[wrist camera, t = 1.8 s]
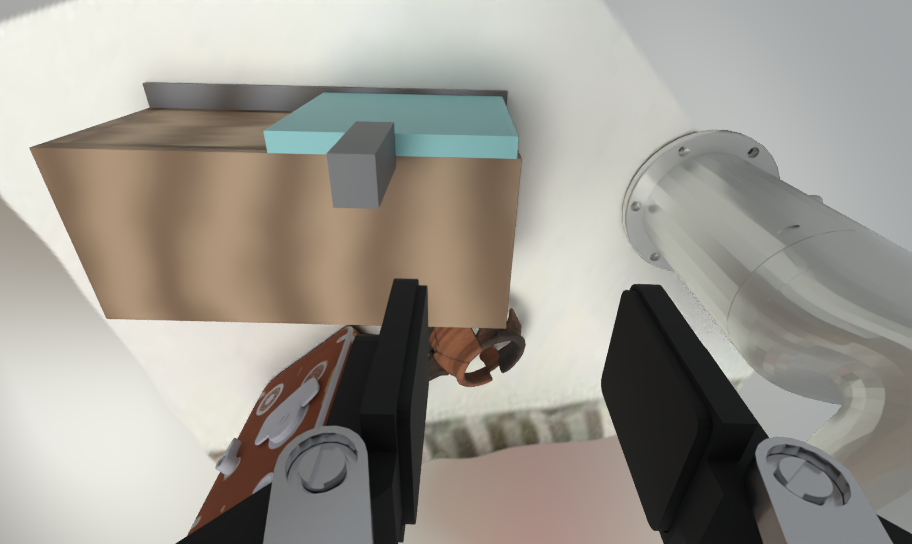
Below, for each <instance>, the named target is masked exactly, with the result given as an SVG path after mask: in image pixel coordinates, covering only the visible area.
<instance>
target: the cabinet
mask: <svg viewBox="0 0 912 544" xmlns="http://www.w3.org/2000/svg"><path fill="white" fill-rule="evenodd" d="M143 87H144V90H145V93H146V96H147V100H148V103H149V106H150V108H148V109H145V110H142V111H139V112H136V113H133V114H130V115H127V116H124V117H121V118H118V119H115V120H112V121H108V122H105V123H102V124H99V125H96V126H93V127H90V128H87V129H84V130H81V131H78V132H75V133H72V134H69V135H66V136H63V137H60V138H57V139H54V140H51V141H48V142H45V143H42V144H39V145H36V146H33V147H30V150H31V153H32V155H33V157H34V159H35V161H36V164H37V166H38V168H39V170H40V173H41V175H42V177H43V179H44V181H45V184H46V186H47V188H48V190H49V192H50V195H51V197H52V199H53V201H54V203H55V206H56V208H57V210H58V212H59V215H60V217H61V219H62V221H63V223H64V226H65V228H66V230H67V232H68V234H69V237H70V239H71V241H72V243H73V246H74V248H75V250H76V252H77V254H78V257H79V259H80V261H81V263H82V265H83V268H84V270H85V272H86V274H87V276H88V279H89V281H90V283H91V285H92V288H93V290H94V292H95V294H96V296H97V299H98V301H99V303H100V305H101V307H102V310H103V312H104V314H105V316H106V318H107V319H135V320H175V321H216V322H257V323H298V324H339V325H380V326H382V323H383V319H384V315H385V311H386V307H387V303H388V299H389V295H390V291H391V288H392V284H393V280H394V278H403V279H418V280H419V285H427V287H428V327H462V328H503V329H506V323H507V312H508V302H509V291H510V280H511V269H512V259H513V248H514V237H515V226H516V215H517V205H518V194H519V183H520V172H521V161H522V159H521V156H520V153H519V150H518V152H517V159H501V158H458V157H414V156H396V169H395V171H394V173H393V176H392V178H391V181H390V183H389V185H388V188H387V190H386V193H385V195H384V198H383V200H382V202H381V205H380V207H379V209H363V208H333V202H332V194H331V186H330V178H329V170H328V162H327V154H285V153H267V148H266V143H265V137H264V132H263V131H264V130H265V129H267V128H268V127H270V126H271V125H273V124H275V123H276V122H278V121H279V120H281V119H283V118H284V117H286V116H287V115H289V114H290V113H292V112H294V111H295V110H297V109H298V108H300V107H302V106H303V105H305V104H306V103H308V102H309V101H311V100H313V99H314V98H316V97H317V96H319V95H321V94H322V93H324V92H327V93H371V94H415V95H459V96H502V97H503V99H504V102H505V104H507V91H499V90H454V89H410V88H366V87H322V86H278V85H234V84H189V83H143Z"/></svg>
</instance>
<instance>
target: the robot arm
mask: <svg viewBox="0 0 912 544" xmlns="http://www.w3.org/2000/svg"><path fill="white" fill-rule="evenodd" d="M681 147H682V149H681V150H680V151H679V149H680V148H681ZM748 151H749V152H748ZM634 202H635V204H634V205H632V204H633V203H634ZM622 221H623V227H624V232H625V234H626V236H627V239H628V241H629V243H630V244H631V246H632V247H633V249H634V250H635V251H636V252H637V253H638V254H639V255H640V257H641V258H643V259H644V260H645V261H647V262H648V263H650V264H652V265H654V266H656V267H659V268H661V269H665V270H670V271H675V272H676V273H677V274H678V276H679V277H680V278H681V280H682V281H683V282H684V283H685V285H686V286H687V287H688V288H689V290H690V291H691V292H692V293H693V295H694V296H695V297H696V299H697V300H698V301H699V302H700V304H701V305H702V306H703V307H704V309H705V310H706V311H707V313H708V314H709V315H710V316H711V318H712V319H713V320H714V321H715V323H716V324H717V325H718V326H719V328H720V329H721V330H722V332H723V333H724V334H725V335H726V337H727V338H728V339H729V340H730V342H731V343H732V344H733V345H734V347H735V348H736V349H737V351H738V352H739V353H740V354H741V356H742V357H743V358H744V359H745V361H746V362H747V363H748V364H749V365H750V366H751V367H752V368H753V369H754V370H755V371H756V372H757V373H758V374H760V375H761V376H762V377H763V378H765V379H766V380H768V381H769V382H771V383H773V384H775V385H776V386H778V387H780V388H782V389H784V390H786V391H789V392H791V393H794V394H797V395H800V396H803V397H806V398H811V399H814V400H819V401H823V402H828V403H832V404H839V405H842V406H841V408H840V409H839V410H838V412H837V413H836V414H835V415H833V416H832V417H831V418H830V419H829V420H828V421H827V422H826V423H825V424H823V425H822V426H821V427H820V428H819V429H818V430H816V432H815V434H814V435H813V436H812V437H811V438H810V439H808V440H807V441H806V442H803V441H799V440H796V439H792V438H785V437H773V438H769V437H768V436H767V434H766V433H765V431H764V430H763V429H762V427H761V426H760V424H759V423H758V421H757V420H756V419H755V417H754V416H753V414H752V413H751V411H750V410H749V409H748V407H747V406H746V404H745V403H744V401H743V400H742V399H741V398H740V396H739V394H738V393H737V391H736V390H735V389H734V387H733V386H732V384H731V383H730V381H729V380H728V379H727V377H726V376H725V374H724V373H723V372H722V370H721V369H720V367H719V366H718V364H717V363H716V362H715V360H714V359H713V357H712V356H711V354H710V353H709V352H708V350H707V349H706V348H705V347H704V346H703V344H702V343H701V341H700V340H699V339H698V337H697V336H696V334H695V333H694V331H693V330H692V329H691V327H690V326H689V324H688V323H687V321H686V320H685V319H684V317H683V316H682V314H681V313H680V311H679V310H678V309H677V307H676V306H675V304H674V303H673V301H672V300H671V299H670V297H669V296H668V294H667V293H666V291H665V290H664V289H663V287H662V286H661V285H652V284H634V285H632V286H631V288H630V290H625V291H623V293H622V295H621V299H620V303H619V308H618V312H617V316H616V320H615V324H614V328H613V332H612V337H611V341H610V345H609V349H608V353H607V357H606V362H605V366H604V370H603V374H602V379H601V388H602V393H603V397H604V399H605V402H606V405H607V408H608V411H609V413H610V416H611V419H612V422H613V425H614V428H615V430H616V433H617V436H618V439H619V442H620V444H621V447H622V450H623V453H624V455H625V458H626V461H627V464H628V467H629V470H630V473H631V475H632V478H633V481H634V484H635V487H636V489H637V492H638V495H639V498H640V501H641V504H642V506H643V509H644V512H645V515H646V518H647V521H648V523H649V525H650V527H651V528H652V529H653V530H654V531H659V532H660V534H661V538H662V540H663V543H664V544H912V253H911V252H910V251H908V250H906V249H904V248H902V247H901V246H899V245H897V244H895V243H893V242H892V241H890V240H888V239H886V238H884V237H883V236H881V235H879V234H877V233H875V232H874V231H872V230H870V229H868V228H866V227H865V226H863V225H861V224H859V223H857V222H856V221H854V220H852V219H850V218H848V217H847V216H845V215H843V214H841V213H839V212H837V211H836V210H834V209H832V208H830V207H829V206H826V205H825V204H823V201H822V198H821V197H820V196H816V195H807V194H805V193H803V192H802V191H800V190H798V189H796V188H794V187H793V186H791V185H789V184H787V183H785V182H783V181H782V180H780V177H779V172H778V167H777V165H776V163H775V161H774V159H773V157H772V155H771V154H770V153H769V152H768V151H767V149H766V148H765V147H764V146H763V145H761V144H760V143H758V142H757V141H755V140H753V139H752V138H750V137H747V136H745V135H743V134H741V133H737V132H732V131H728V130H708V131H701V132H696V133H693V134H690V135H687V136H684V137H681V138H679V139H677V140H675V141H673V142H671V143H670V144H668V145H666V146H664V147H663V148H662V149H661V150H659V151H658V152H657V153H655V154H654V155H653V156H652V157H651V158H650V159H649V160H648V161H647V162H646V163H645V164H644V165H643V166H642V167H641V168H640V170H639V171H638V173H637V174H636V175H635V177H634V178H633V180H632V182H631V184H630V186H629V188H628V190H627V192H626V196H625V200H624V203H623V212H622ZM428 387H429V342H428V287H427V285H419V280H418V279H403V278H394V280H393V284H392V288H391V291H390V295H389V299H388V303H387V307H386V311H385V315H384V319H383V323H382V327H381V330H380V334H379V335H373V334H357V335H356V336H355V338H354V340H353V343H352V346H351V349H350V352H349V355H348V358H347V362H346V365H345V368H344V371H343V374H342V377H341V380H340V383H339V386H338V389H337V392H336V395H335V398H334V401H333V404H332V407H331V410H330V413H329V416H328V419H327V422H326V425H325V426H322V427H318V428H314V429H310V430H308V431H306V432H304V433H302V434H300V435H299V436H297V437H296V438H294V439H293V440H292V441H291V442H290V443H289V444H287V445H286V447H285V448H284V449H283V451H282V452H281V454H280V455H279V456H278V459H277V462H276V465H275V468H274V474H273V480H272V482H271V483H269V484H268V485H266V486H264V487H263V488H261V489H260V490H258V491H257V492H255V493H254V494H252V495H250V496H249V497H247V498H246V499H244V500H243V501H241V502H240V503H238V504H236V505H235V506H233V507H232V508H230V509H229V510H227V511H226V512H224V513H222V514H221V515H219V516H218V517H216V518H215V519H213V520H212V521H210V522H208V523H207V524H205V525H204V526H202V527H201V528H199V529H198V530H196V531H194V532H193V533H191V534H190V535H188V536H187V537H185V538H184V539H182V540H180V541H179V542H177V543H176V544H398V542H403V541H404V531H405V524H415V523H416V517H417V506H418V494H419V484H420V474H421V463H422V452H423V441H424V431H425V420H426V409H427V398H428Z"/></svg>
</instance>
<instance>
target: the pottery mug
mask: <svg viewBox="0 0 912 544" xmlns="http://www.w3.org/2000/svg"><path fill="white" fill-rule="evenodd" d="M504 341H511V342H510V343H509V344H508V345H506V346H504V347H503V348H501V349H500V350H499V351H498V350H497V349H496V348H494V347H492V346H493V345H495V344H497V343H500V342H504ZM428 342H429V381H430V380H432V379H434V378H436V377H439V376H442V375H449V374H450V375H453V376H455V377H456V378H457V381H458V383H459V384H460V385H462V386H466V387H475V386H480V385H483V384H486V383H488V382H491V381H492V377H491V375H490V372H491V371H492V370H494V369H495V368H497V367H498V366H500V370H501V372H502V373H505V372H507V371H508V370H510V369H511V368H512V367H513V366H514V365H515V364H516V363H517V362H518V361H519V359H520V358H521V356H522V354H523V352H524V349H525V346H526V344H525V340H524V338H523V337H522V336H521V325H520V323H519V321H518V318H517V316H516V314H515V312H514V310H513V309H512V308H511V309H510V310H509V318H508V320H507V323H506V329H503V328H479V330H478V332H477V334H476V335H475V334H474V332H473V330H472V328H462V327H428ZM480 353H481V354H480ZM478 354H480V359H481V360H482V361H483V362H484V363H485V367H483V368H481V369H479V370H476V371H474V372H471V373H465V371H466V368H467V367H468V365H469V363H470V362H471V361H472V360H473V359H474V358H475V357H476V356H477V355H478Z"/></svg>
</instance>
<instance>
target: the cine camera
mask: <svg viewBox="0 0 912 544" xmlns="http://www.w3.org/2000/svg"><path fill="white" fill-rule="evenodd" d="M357 334H360V333H359V332H358V331H357V330H355V329H354V328H353V327H350V326H348V327H346V328H344V329H342V330H340V331H339V332H337V333H336V334H335V335H333V336H332V337H330V338H329V339H328V340H326V341H325V342H324V343H322V344H321V345H319V346H318V347H317V348H315V349H314V350H312V351H311V352H310V353H308V354H307V355H305V356H304V357H303V358H301V359H300V360H298V361H297V362H296V363H294V364H293V365H292V366H290V367H289V368H287V369H286V370H285V371H283V372H282V373H280V374H279V375H278V376H276V377H275V378H274V379H273V380H271V381H270V382H269V383H268V385H267V386H266V387H265V389H264V390H263V392H262V394H261V395H260V397H259V399H258V401H257V403H256V404H255V406H254V408H253V410H252V412H251V414H250V416H249V418H248V420H247V422H246V423H245V425H244V427H243V429H242V431H241V433H240V435H239V437H238V439H236V438H234V439H233V440H232V442H231V444H230V445H229V447H228V449H227V451H226V452H225V454H224V455H223V456H222V457H221V458H220V460H219V461H218V463H217V465H216V469H217V470H219V471H220V474H219V475H218V477H217V479H216V481H215V483H214V485H213V487H212V489H211V491H210V492H209V494H208V496H207V498H206V501H205V502H204V504H203V506H202V508H201V510H200V512H199V514H198V516H197V517H196V520H195V521H194V523H193V525H192V527H191V529H190V531H189V533H188V535H190V534H191V533H193V532H194V531H196V530H198V529H199V528H201V527H202V526H204V525H205V524H207V523H208V522H210V521H212V520H213V519H215V518H216V517H218V516H219V515H221V514H222V513H224V512H226V511H227V510H229V509H230V508H232V507H233V506H235V505H236V504H238V503H240V502H241V501H243V500H244V499H246V498H247V497H249V496H250V495H252V494H254V493H255V492H257V491H258V490H260V489H261V488H263V487H264V486H266V485H268V484H269V483H271V482H272V480H273V474H274V468H275V465H276V462H277V459H278V456H279V455H280V454H281V452H282V451H283V449H284V448H285V447H286V445H287V444H289V443H290V442H291V441H292V440H293V439H294V438H296V437H297V436H299V435H300V434H302V433H304V432H306V431H308V430H310V429H314V428H318V427H322V426H325V425H326V422H327V419H328V416H329V413H330V410H331V407H332V404H333V401H334V398H335V395H336V392H337V389H338V386H339V383H340V380H341V377H342V374H343V371H344V368H345V365H346V362H347V358H348V355H349V352H350V349H351V346H352V343H353V340H354V338H355V336H356V335H357ZM188 535H187V536H188Z"/></svg>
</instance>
